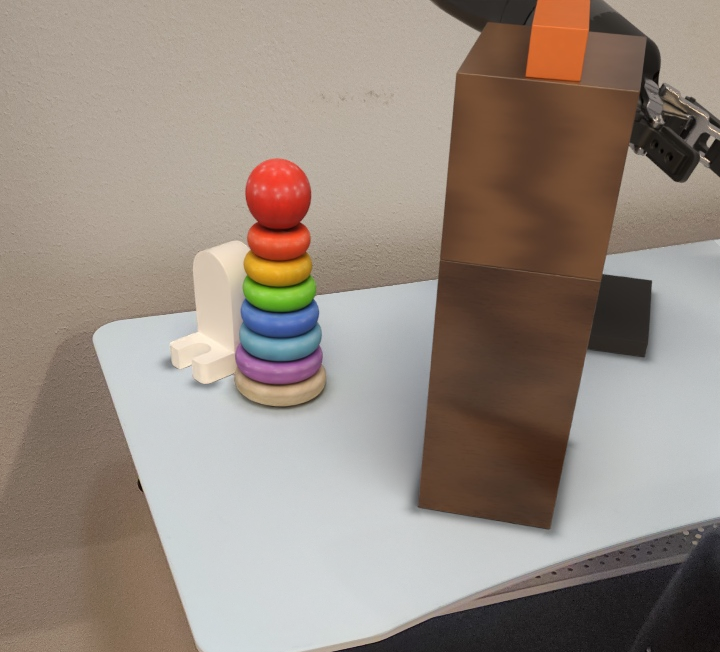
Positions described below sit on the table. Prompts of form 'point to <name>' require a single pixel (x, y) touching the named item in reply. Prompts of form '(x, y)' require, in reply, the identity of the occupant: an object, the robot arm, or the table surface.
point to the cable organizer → (214, 313)
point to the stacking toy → (279, 292)
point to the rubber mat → (622, 316)
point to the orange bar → (558, 39)
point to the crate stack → (521, 269)
